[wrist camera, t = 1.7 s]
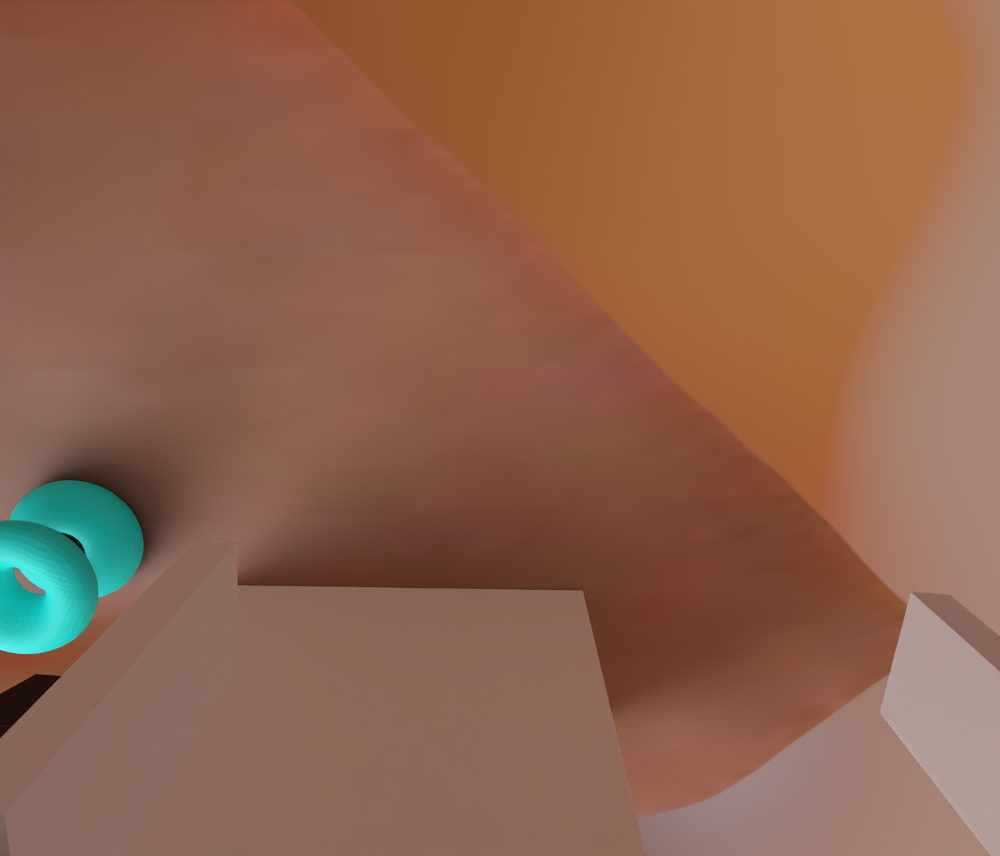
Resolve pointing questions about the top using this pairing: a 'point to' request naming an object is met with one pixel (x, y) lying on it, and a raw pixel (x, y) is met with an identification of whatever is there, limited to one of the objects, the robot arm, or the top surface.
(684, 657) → the top surface
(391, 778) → the tall cream pillar block
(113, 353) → the top surface
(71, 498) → the donuts
